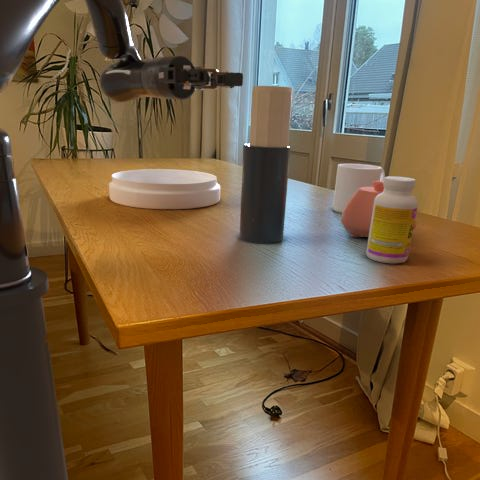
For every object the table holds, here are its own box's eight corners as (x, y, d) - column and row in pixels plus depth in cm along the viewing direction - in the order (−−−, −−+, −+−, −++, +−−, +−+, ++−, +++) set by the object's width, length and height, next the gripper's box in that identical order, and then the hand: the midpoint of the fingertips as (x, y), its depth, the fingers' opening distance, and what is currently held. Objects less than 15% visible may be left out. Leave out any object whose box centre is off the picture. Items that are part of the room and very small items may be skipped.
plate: (86, 201, 111) (84, 177, 109) (146, 186, 134) (146, 165, 132) (190, 214, 103) (190, 188, 100) (235, 195, 126) (236, 174, 123)
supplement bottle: (409, 266, 75) (426, 183, 70) (366, 262, 76) (379, 179, 71) (404, 254, 81) (419, 177, 76) (364, 251, 82) (376, 174, 77)
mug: (350, 216, 108) (357, 169, 103) (324, 208, 116) (329, 163, 111) (392, 213, 113) (399, 168, 109) (363, 205, 121) (370, 163, 117)
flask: (246, 244, 83) (251, 120, 75) (234, 232, 90) (239, 118, 82) (289, 243, 85) (299, 122, 77) (274, 231, 92) (283, 119, 84)
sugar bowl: (349, 224, 100) (356, 174, 96) (418, 235, 94) (429, 182, 90) (331, 237, 90) (338, 181, 86) (407, 249, 84) (418, 190, 80)
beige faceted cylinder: (280, 148, 77) (285, 86, 73) (243, 145, 79) (245, 85, 75) (294, 146, 82) (298, 88, 78) (258, 143, 84) (261, 87, 81)
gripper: (136, 52, 88) (193, 48, 77) (196, 60, 97) (253, 57, 87) (138, 97, 91) (192, 99, 80) (196, 100, 100) (251, 102, 90)
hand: (224, 77), depth 83 cm, fingers open, 8 cm apart
